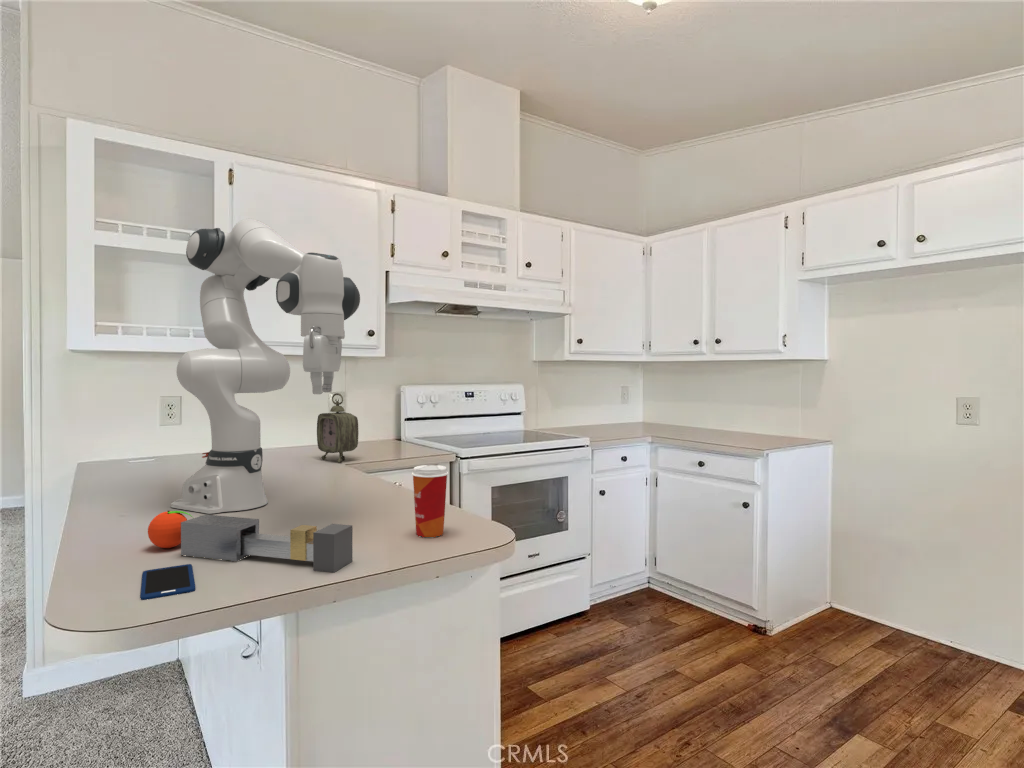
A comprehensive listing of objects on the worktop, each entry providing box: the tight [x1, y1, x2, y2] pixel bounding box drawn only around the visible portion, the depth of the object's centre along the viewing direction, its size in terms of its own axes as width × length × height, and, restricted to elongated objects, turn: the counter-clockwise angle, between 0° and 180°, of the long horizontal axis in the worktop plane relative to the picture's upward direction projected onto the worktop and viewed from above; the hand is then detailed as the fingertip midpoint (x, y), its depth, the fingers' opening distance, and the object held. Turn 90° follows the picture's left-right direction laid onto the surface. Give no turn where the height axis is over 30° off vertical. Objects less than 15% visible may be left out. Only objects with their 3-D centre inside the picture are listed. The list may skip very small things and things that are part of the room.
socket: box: [312, 523, 353, 573], centre depth 103 cm, size 4×6×6 cm, turn 165°
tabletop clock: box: [316, 392, 359, 464], centre depth 218 cm, size 14×9×25 cm, turn 49°
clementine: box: [147, 510, 193, 549], centre depth 114 cm, size 8×7×7 cm
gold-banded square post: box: [240, 524, 318, 562], centre depth 106 cm, size 19×3×5 cm, turn 75°
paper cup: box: [411, 464, 449, 538], centre depth 123 cm, size 8×8×14 cm
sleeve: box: [180, 514, 260, 562], centre depth 109 cm, size 12×6×6 cm, turn 75°
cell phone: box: [139, 563, 197, 601], centre depth 95 cm, size 7×14×1 cm, turn 31°
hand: (322, 393), depth 127 cm, fingers open, 8 cm apart
